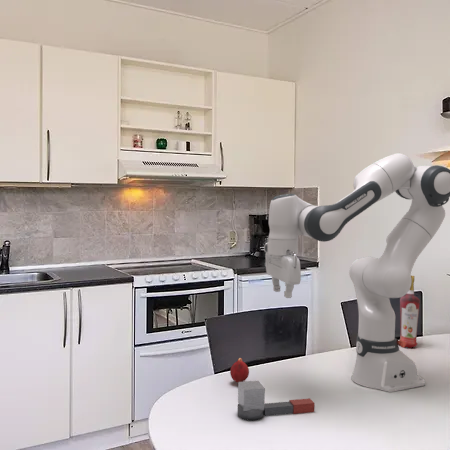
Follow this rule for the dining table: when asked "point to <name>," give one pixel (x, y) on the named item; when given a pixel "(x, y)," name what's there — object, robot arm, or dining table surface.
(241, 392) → the gray cube
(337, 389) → the dining table surface
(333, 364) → the dining table surface
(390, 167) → the robot arm
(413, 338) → the liquor
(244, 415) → the ratchet
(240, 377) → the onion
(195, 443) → the dining table surface
